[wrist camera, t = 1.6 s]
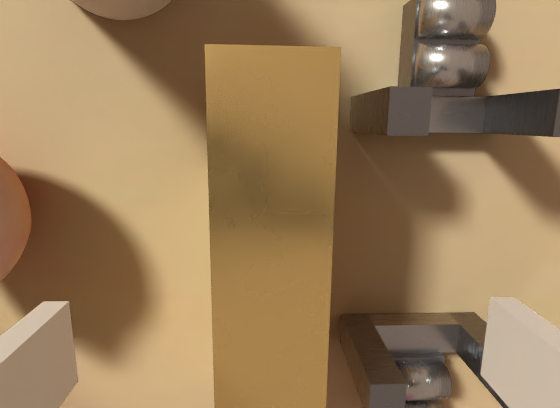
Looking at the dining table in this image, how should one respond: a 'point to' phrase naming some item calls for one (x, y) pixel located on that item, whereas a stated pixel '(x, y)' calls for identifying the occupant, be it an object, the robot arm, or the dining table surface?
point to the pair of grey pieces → (420, 122)
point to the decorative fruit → (12, 219)
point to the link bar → (271, 220)
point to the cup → (122, 8)
